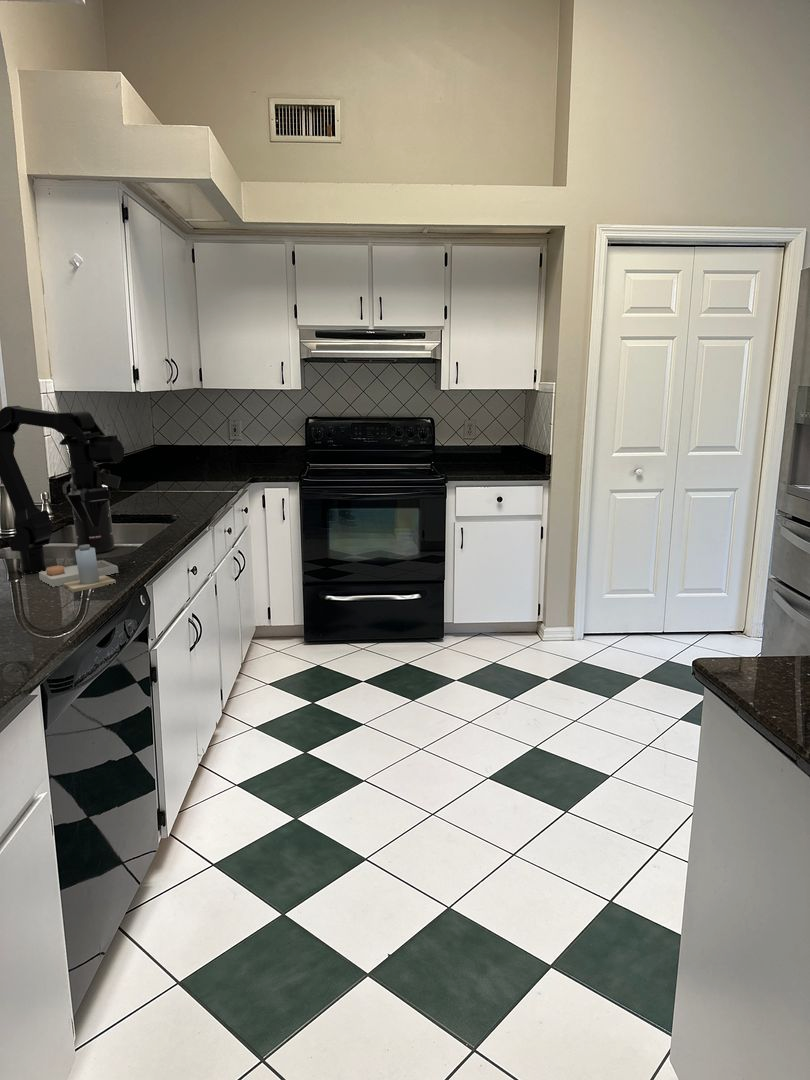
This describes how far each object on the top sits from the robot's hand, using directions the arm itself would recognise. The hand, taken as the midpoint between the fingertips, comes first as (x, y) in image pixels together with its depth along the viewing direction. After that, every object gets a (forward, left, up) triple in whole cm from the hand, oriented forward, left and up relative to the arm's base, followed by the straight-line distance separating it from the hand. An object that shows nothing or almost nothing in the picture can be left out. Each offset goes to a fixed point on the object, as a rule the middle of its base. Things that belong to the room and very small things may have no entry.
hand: (89, 524), depth 191 cm
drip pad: (+11, -6, -13) cm, 18 cm away
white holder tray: (+1, -5, -13) cm, 14 cm away
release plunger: (+1, -10, -12) cm, 16 cm away
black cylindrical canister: (-25, +9, -13) cm, 30 cm away
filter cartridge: (+11, -5, -12) cm, 17 cm away
